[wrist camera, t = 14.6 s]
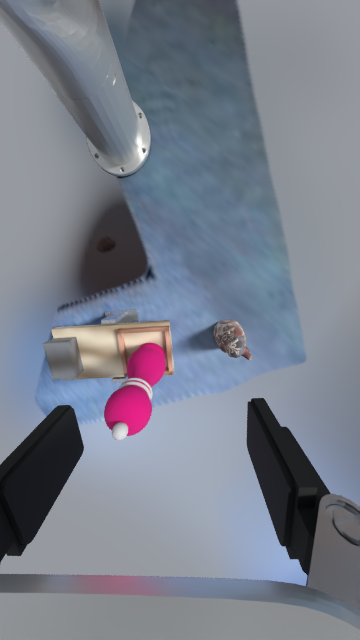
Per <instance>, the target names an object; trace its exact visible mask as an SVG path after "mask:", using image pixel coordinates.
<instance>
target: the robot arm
mask: <svg viewBox="0 0 360 640" xmlns="http://www.w3.org/2000/svg"><path fill="white" fill-rule="evenodd" d="M0 24H1V25H2V26H3V27H4V28H5V30H6V31H7V32H8V33H9V34H10V36H11V37H12V38H13V39H14V41H15V42H16V43H17V44H18V45H19V47H20V48H21V49H22V51H23V52H24V53H25V54H26V56H27V57H28V58H29V60H30V61H31V62H32V64H33V65H34V66H35V68H36V69H37V70H38V72H39V73H40V74H41V76H42V77H43V78H44V79H45V81H46V82H47V83H48V85H49V86H50V87H51V89H52V90H53V92H54V93H55V94H56V96H57V97H58V98H59V100H60V101H61V102H62V104H63V105H64V106H65V108H66V109H67V111H68V112H69V113H70V115H71V116H72V117H73V119H74V120H75V121H76V123H77V124H78V125H79V127H80V128H81V129H82V131H83V132H84V133H85V135H86V139H87V144H88V148H89V150H90V153H91V155H92V157H93V158H94V160H95V161H96V162H97V164H98V165H99V166H100V167H101V168H102V169H103V170H105V171H106V172H108V173H109V174H112V175H115V176H128V175H131V174H133V173H135V172H137V171H138V170H139V169H140V168H141V167H142V166H143V164H144V163H145V161H146V159H147V157H148V154H149V151H150V145H151V135H150V129H149V125H148V122H147V119H146V117H145V115H144V113H143V112H142V110H141V109H140V107H139V106H138V105H137V104H136V103H135V102H133V101H132V99H131V96H130V93H129V90H128V87H127V84H126V80H125V77H124V74H123V71H122V68H121V65H120V62H119V59H118V56H117V53H116V50H115V46H114V43H113V40H112V37H111V34H110V31H109V28H108V25H107V22H106V19H105V16H104V13H103V10H102V8H101V5H100V3H99V1H98V0H0ZM144 152H145V153H144ZM123 171H124V172H123ZM247 416H248V417H247V448H248V451H249V454H250V458H251V461H252V463H253V466H254V469H255V472H256V475H257V478H258V481H259V484H260V487H261V490H262V493H263V496H264V499H265V502H266V505H267V508H268V510H269V513H270V516H271V519H272V522H273V525H274V528H275V531H276V534H277V537H278V540H279V542H280V544H281V545H282V546H286V549H287V552H288V555H289V557H290V559H298V560H299V562H300V565H301V567H302V570H303V571H304V572H305V573H306V574H307V575H308V576H307V583H306V586H301V585H297V584H292V583H284V582H276V581H268V580H248V579H229V578H228V579H227V578H199V577H198V578H197V577H196V578H195V577H159V576H110V575H45V574H44V575H42V574H40V575H39V574H0V640H360V506H358V505H357V504H355V503H354V502H352V501H351V500H349V499H347V498H345V497H343V496H341V495H336V494H330V492H329V490H328V489H327V487H326V486H325V484H324V483H323V481H322V480H321V478H320V476H319V475H318V473H317V472H316V470H315V469H314V467H313V466H312V464H311V462H310V461H309V460H308V458H307V456H306V455H305V453H304V452H303V450H302V449H301V447H300V445H299V444H298V442H297V441H296V439H295V438H294V436H293V435H292V433H291V431H290V430H289V429H288V428H287V427H281V426H280V424H279V423H278V421H277V420H276V418H275V416H274V414H273V413H272V411H271V410H270V408H269V406H268V404H267V403H266V401H265V399H264V398H253V399H251V402H248V415H247ZM83 450H84V446H83V442H82V438H81V434H80V430H79V427H78V423H77V419H76V415H75V411H74V409H73V408H72V407H71V406H70V405H59V406H57V407H56V408H55V409H54V410H53V411H52V412H51V413H50V414H49V415H48V416H47V417H46V418H45V419H44V420H43V421H42V422H41V423H40V424H39V425H38V426H37V427H36V429H34V430H33V432H31V434H30V435H29V436H28V437H27V438H26V439H25V440H24V441H23V442H22V443H21V444H20V445H19V446H18V447H17V448H16V449H15V450H14V451H13V452H12V453H11V454H10V455H9V456H8V457H7V458H6V460H4V461H3V462H2V464H1V465H0V563H1V560H2V559H3V557H4V556H5V554H7V555H8V556H21V555H22V552H23V551H24V549H25V548H26V546H27V544H29V543H30V542H31V541H32V540H33V539H34V537H35V535H36V534H37V532H38V530H39V529H40V527H41V525H42V523H43V522H44V520H45V518H46V516H47V515H48V513H49V511H50V509H51V508H52V506H53V504H54V502H55V501H56V499H57V497H58V495H59V494H60V492H61V490H62V489H63V487H64V485H65V483H66V482H67V480H68V478H69V476H70V474H71V473H72V471H73V469H74V468H75V466H76V464H77V462H78V461H79V459H80V457H81V455H82V453H83Z"/></svg>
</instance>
